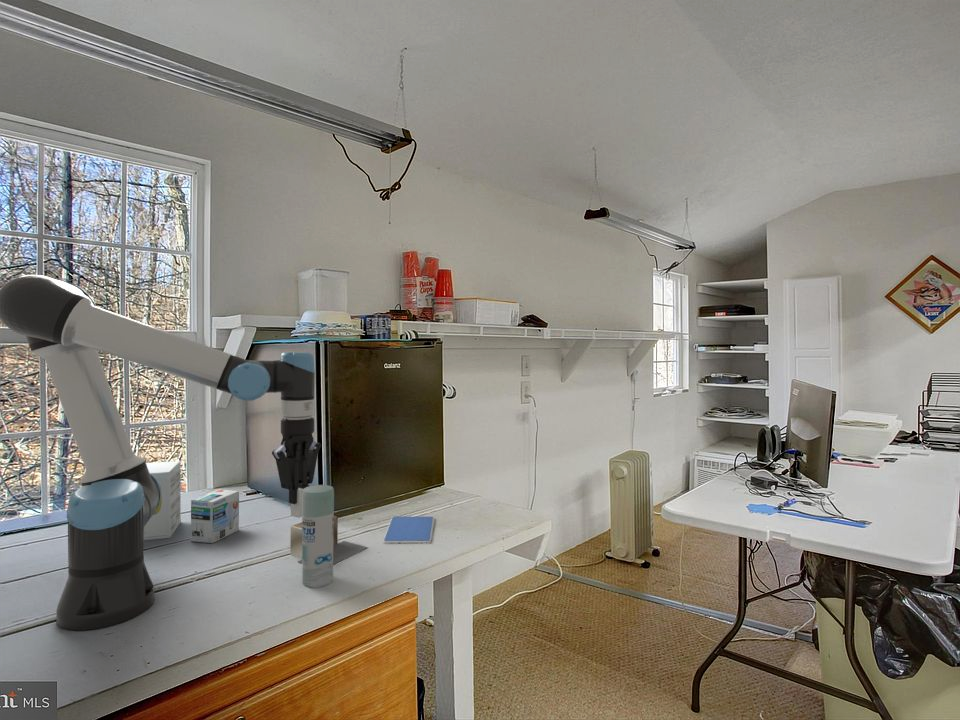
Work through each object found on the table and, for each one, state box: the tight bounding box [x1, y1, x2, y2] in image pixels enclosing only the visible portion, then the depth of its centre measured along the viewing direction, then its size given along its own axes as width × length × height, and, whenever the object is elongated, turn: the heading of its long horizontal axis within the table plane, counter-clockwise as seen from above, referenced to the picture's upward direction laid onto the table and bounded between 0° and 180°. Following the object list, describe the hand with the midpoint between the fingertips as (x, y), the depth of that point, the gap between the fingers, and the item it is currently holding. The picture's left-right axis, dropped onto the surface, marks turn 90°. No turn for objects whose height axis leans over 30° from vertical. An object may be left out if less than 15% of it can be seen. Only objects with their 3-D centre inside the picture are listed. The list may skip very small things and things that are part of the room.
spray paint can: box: [301, 484, 335, 589], centre depth 112 cm, size 6×6×20 cm
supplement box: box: [144, 460, 182, 541], centre depth 139 cm, size 13×13×18 cm
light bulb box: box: [190, 489, 240, 544], centre depth 138 cm, size 11×7×11 cm, turn 168°
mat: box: [297, 540, 369, 566], centre depth 126 cm, size 15×8×1 cm, turn 150°
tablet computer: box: [382, 516, 435, 545], centre depth 144 cm, size 19×13×1 cm, turn 2°
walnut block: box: [289, 515, 339, 560], centre depth 129 cm, size 7×4×11 cm
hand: (297, 515), depth 124 cm, fingers closed
